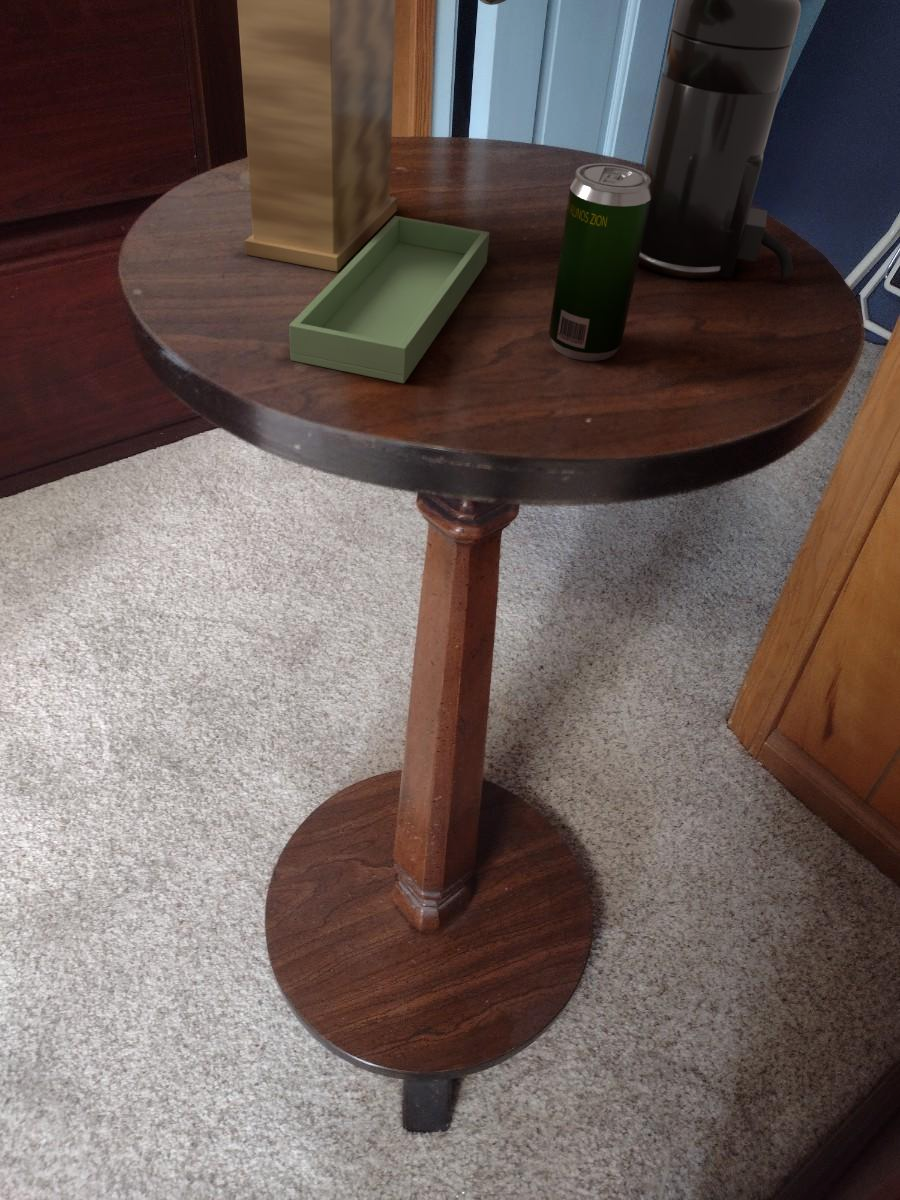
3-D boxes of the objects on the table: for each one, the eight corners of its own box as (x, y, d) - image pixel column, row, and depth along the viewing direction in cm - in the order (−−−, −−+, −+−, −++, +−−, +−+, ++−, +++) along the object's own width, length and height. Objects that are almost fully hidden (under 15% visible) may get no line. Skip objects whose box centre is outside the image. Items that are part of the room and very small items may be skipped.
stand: (315, 196, 90) (305, -226, 70) (396, 211, 89) (410, -216, 69) (245, 254, 79) (210, -227, 59) (337, 272, 78) (332, -215, 58)
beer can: (608, 370, 68) (642, 196, 60) (537, 351, 70) (561, 179, 62) (628, 339, 72) (663, 172, 64) (560, 322, 74) (586, 157, 66)
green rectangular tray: (394, 246, 83) (394, 215, 81) (486, 262, 81) (489, 232, 79) (290, 360, 66) (288, 325, 65) (404, 384, 65) (405, 348, 63)
